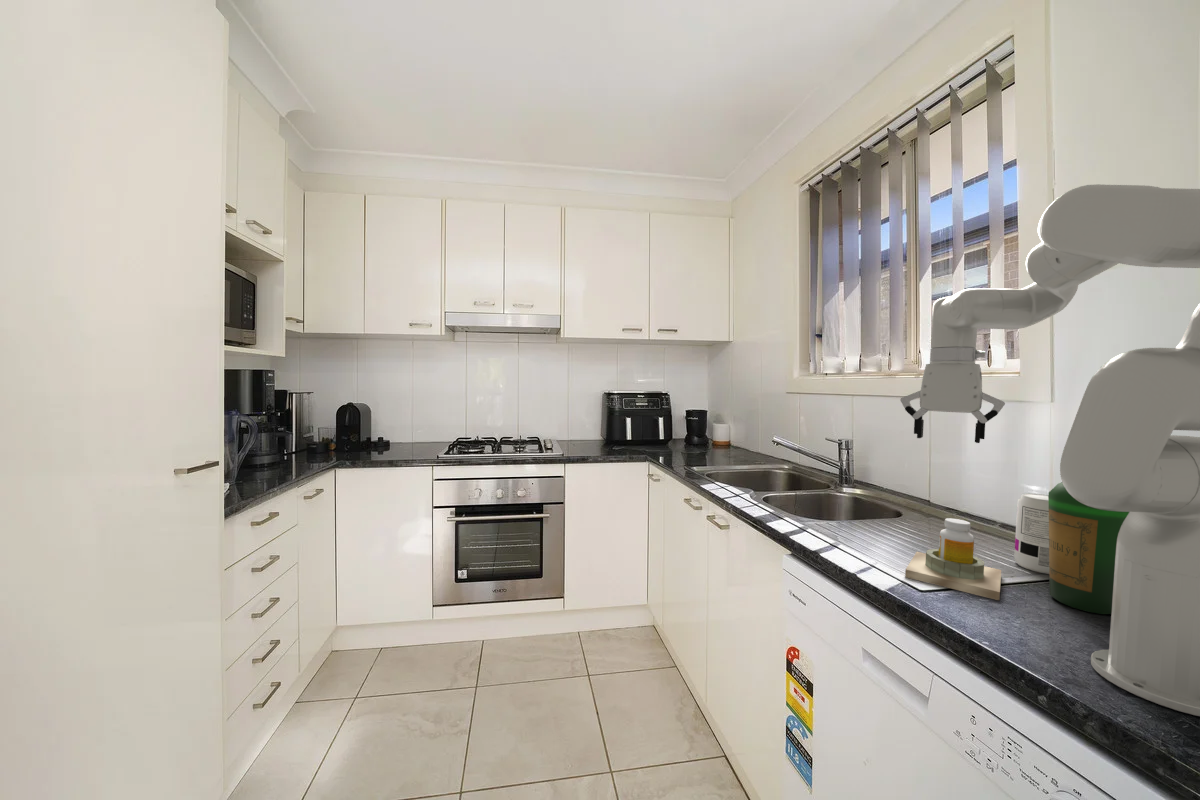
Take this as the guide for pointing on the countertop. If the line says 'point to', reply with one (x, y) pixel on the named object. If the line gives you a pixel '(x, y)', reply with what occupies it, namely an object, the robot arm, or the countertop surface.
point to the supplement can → (1032, 532)
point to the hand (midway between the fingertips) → (947, 440)
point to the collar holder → (955, 574)
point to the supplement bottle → (956, 542)
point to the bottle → (1082, 552)
